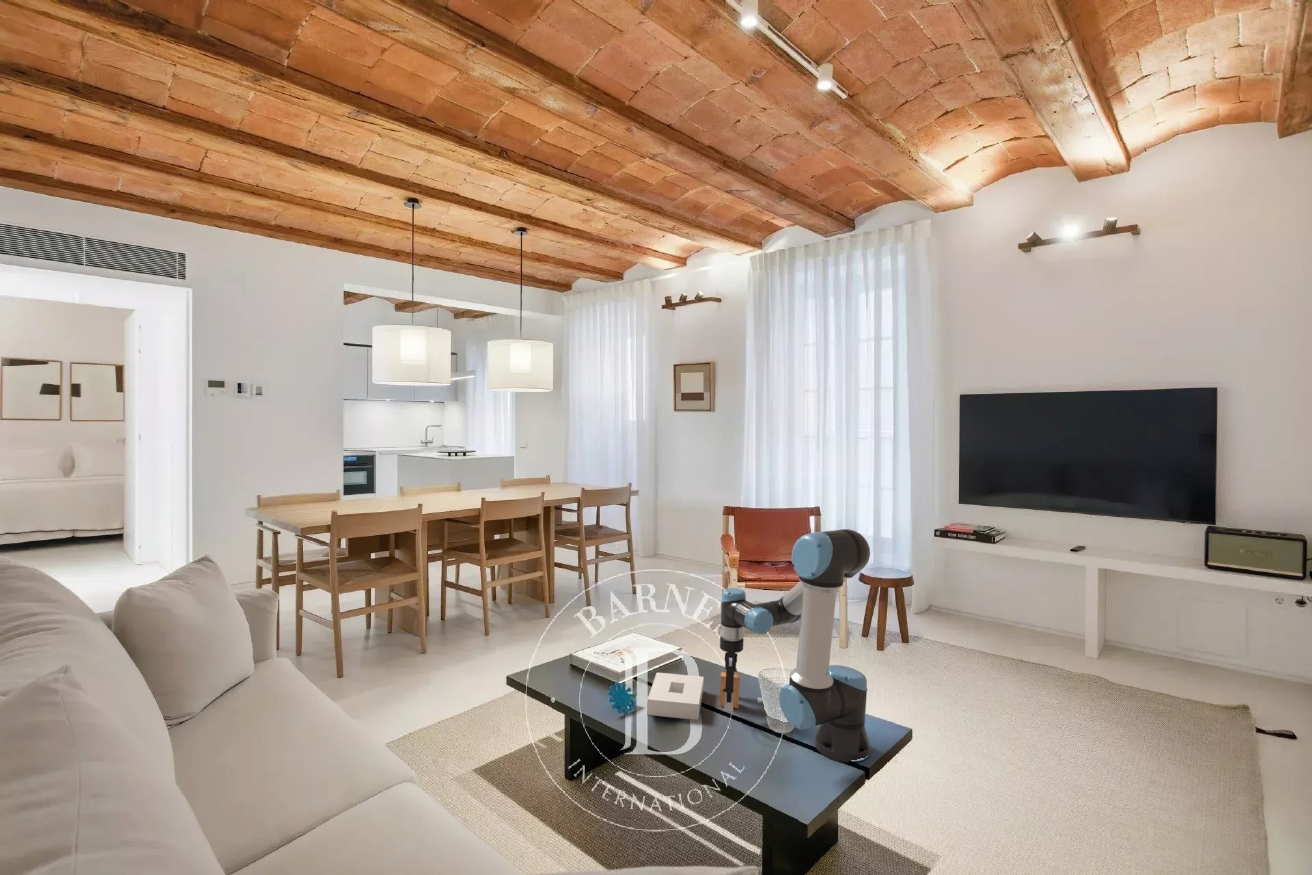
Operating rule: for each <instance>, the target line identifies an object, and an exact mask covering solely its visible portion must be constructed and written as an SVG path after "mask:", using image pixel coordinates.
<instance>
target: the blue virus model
mask: <svg viewBox="0 0 1312 875" xmlns="http://www.w3.org/2000/svg"><path fill="white" fill-rule="evenodd" d="M626 686H627V684H626V683H624V682H622V683H620V682H618V681H617V682H615V684H611V685H610V686H609V690H608V691H607V693H606V694H607V695H608V696H609V698H608V699H607V700H608V703H612V705H611V708H612V709H613V710H615V709H617V707H620V708H619V709H617V711H616V712H617V713H619V714H622V713H624V714H625V715H628V714H629V713H630V712H632V711H633V710H634V709H635V708H634V706H635V705H636V703H637V702H636V700H634V699H635V698H636V696H637V695H638V693H637V692H636V691H634V693H630V692H632V688H631V686H628V687H627V688H626V689H625V687H626ZM623 708H624V711H623Z"/></svg>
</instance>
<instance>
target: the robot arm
mask: <svg viewBox="0 0 1312 875" xmlns="http://www.w3.org/2000/svg"><path fill="white" fill-rule="evenodd" d="M870 558H871V547H870V544H869V542H868V541H867V539H866V538H865V537H864V536H863V535H862V534H861V533H859V532H857V531H856V530H853V529H849V528H848V529H847V528H844V529H837V530H827V531H826V530H825V531H814V532H810V533H807V534H806V533H805V534H804V535H802V536H801V537H799V538H798V539H797V540H796V542H795V543H794V545H793V547H792V551H791V564H792V565H793V570H794V571H795V573H796V574H797V575H798V580H799V581H798V582H797V583H796V584H795V585H794V586H793V587H792V588H790V590H789V591H787V592H786V593H785V594H784V595H783V596H782V597H780V598H779V599H778V600H772V601H768V602H767V601H765V602H761V603H752V602H751V601H750V602H749V601H748V600H746V599H747V597H746V596H747V595H746V592H745V590H743V589H741V588H736V587H729V588H728V587H727V588H725V589H723V591H722V595H721V601H720V603H721V604H720V606H721V607H720V608H721V609H720V625H719V626H718V629H719V630H720V633H719V634H720V637H719V648H720V650H722V651H723V652H724V664H725V665H724V669H725V671H726V672H725V673H726V687H725V689H723V692H725V701H724V707H723V711H724V712H730V713H733V712H734V708H733V695H734V690H733V684H734V673H737V671H738V670H737V662H738V653H741V652H742V651H743V650H744V637H745V629H748V630H749V631H750V632H753V633H757V634H758V635H764V634H767V633H768V631H771V629H772V627H776V626H782V625H788V624H794V623H796V622H800V625H799V634H798V635H799V636H798V646H797V657H796V667H795V668H793V669H792V670H791V671H790V672H789V680H788V684H785V685H784V686H783V687H782V688H780V690H779V693H778V702H779V706H780V710H781V711H782V713H783V716H784V718H785V719H786V720H787V722H788V723H790V725H791V726H793V727H794V728H796V729H798V730H805V729H813V728H814V727H816V726H819V727H818V728H817V731H816V733H815V739H814V741H815V742H814V745H815V746H814V747H815V748H816V749H817V751H818V752H819V753H820V754H821V755H823V756H825V757H827V758H828V759H831V760H833V761H837V762H842V763H848V762H849V761H851V760H857V759H860V758H865V757H866V756H868V754H869V752H870V750H871V746H870V740H869V737H868V736H869V735H868V734H867V730H866V727H865V726H866V725H865V724H866V722H865V721H866V713H867V708H866V707H867V694H868V686H867V685H868V684H867V683H868V679H867V678H866V676H865V675H864V673H863V672H862V671H860V670H857V669H854V668H852V667H849V666H845V665H840V664H830V660H831V659H830V658H831V650H832V649H831V648H832V642H833V641H832V640H833V632H834V630H833V629H834V619H835V611H836V609H835V608H836V600H837V592H838V590H839V589H841V588H842V587H843V586H844V580H845V579H851V578H853V577H854V576H856V575H857V574H859V573H860V572H861V571H862V570H863V569H864V568H865V567H866V566H867V565H868V562H869V560H870ZM869 755H870V754H869Z"/></svg>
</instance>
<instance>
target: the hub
mask: <svg viewBox="0 0 1312 875" xmlns="http://www.w3.org/2000/svg"><path fill="white" fill-rule="evenodd" d="M704 678H705V676H700V675H699V676H698V675H689V674H688V675H686V674H679V673H677V674H676V673H668V672H667V673H666V672H656V674H655V676H654V680H653V682H652V686H651V689H650V692H649V694H648V697H647V703H646V704H647V705H646V706H647V708H646V710H647V711H646V715H647V716H655V717H656V716H657V717H667V718H673V719H685V720H693V721H699V718H700V713H701V706H702V700H703V693H704V681H705V680H704Z"/></svg>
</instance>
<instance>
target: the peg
mask: <svg viewBox="0 0 1312 875" xmlns="http://www.w3.org/2000/svg"><path fill="white" fill-rule="evenodd" d="M740 674H741V673H736V672H734V684H733V690H734V695H733V709H734V708H735V709H739V698H740V676H741V675H740ZM719 687H720V688H719V689H720V690H719V707H723V708H724V701H725V692H723V689H725V687H726V672H724V671H721V672H720V685H719Z"/></svg>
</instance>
